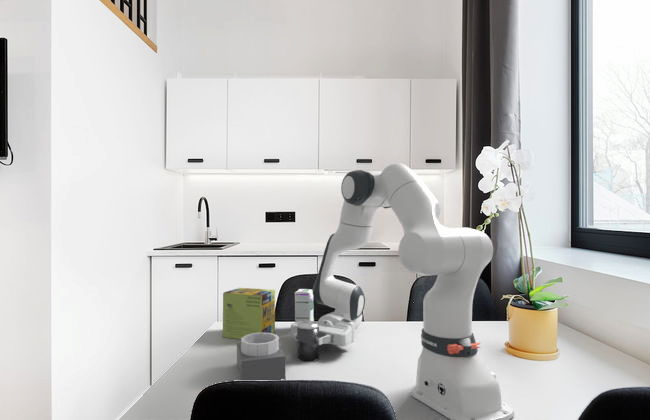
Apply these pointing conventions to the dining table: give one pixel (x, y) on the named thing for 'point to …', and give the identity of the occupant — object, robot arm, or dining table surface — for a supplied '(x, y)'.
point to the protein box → (248, 312)
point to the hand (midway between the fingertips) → (306, 339)
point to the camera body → (260, 357)
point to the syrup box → (304, 305)
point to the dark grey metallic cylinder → (307, 341)
